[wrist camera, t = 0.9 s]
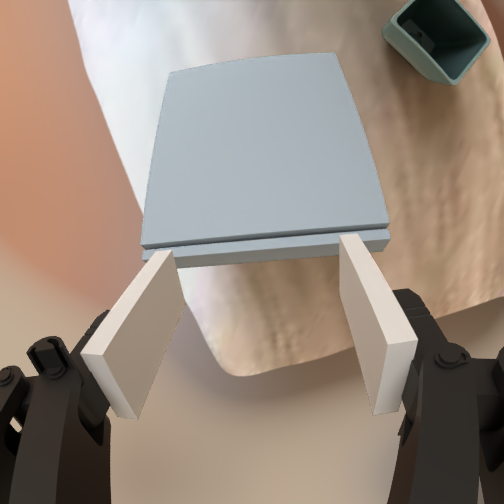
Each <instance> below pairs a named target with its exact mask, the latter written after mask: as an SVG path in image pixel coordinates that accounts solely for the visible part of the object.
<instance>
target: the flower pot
mask: <svg viewBox="0 0 504 504" xmlns="http://www.w3.org/2000/svg"><path fill="white" fill-rule="evenodd" d="M418 33H420V34H421V37H419V36H418ZM382 36H383V38H384V39H385V40H386V41H387V42H388V43H389V44H390V45H391V46H392V47H393V48H394V49H396V50H397V51H398V52H399V53H400V54H401V55H402V56H403V57H404V58H405V59H406V60H407V61H408V62H409V63H410V64H411V65H412V66H413V67H414V68H415V69H416V70H417V71H418V72H419V73H420V74H421V75H422V76H423V77H425V78H426V79H428V80H430V81H432V82H436V83H441V84H447V85H453V86H456V85H457V84H458V83H459V82H460V80H461V79H462V78H463V77H464V75H465V74H466V73H467V72H468V70H469V69H470V68H471V67H472V65H473V64H474V63H475V61H476V60H477V59H478V58H479V56H480V55H481V54H482V53H483V51H484V50H485V49H486V48H487V46H488V45H489V44H490V41H491V39H490V37H489V36H488V34H487V33H486V32H485V30H484V29H483V28H482V27H481V26H480V25H479V23H478V22H477V21H476V20H475V19H474V18H473V17H472V16H471V15H470V13H469V12H468V11H467V10H466V9H465V8H464V7H463V6H462V5H461V4H460V3H459V1H457V0H409V1H408V2H407V3H406V4H405V5H404V6H403V7H402V8H401V9H400V10H399V11H398V12H397V13H396V14H395V15H394V16H393V17H392V18H391V19H390V20H389V22H388V23H387V24H386V25H385V26H384V28H383V29H382Z"/></svg>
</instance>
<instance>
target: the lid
mask: <svg viewBox="0 0 504 504" xmlns="http://www.w3.org/2000/svg"><path fill="white" fill-rule="evenodd" d="M389 223H390V222H389V217H388V213H387V209H386V205H385V201H384V197H383V193H382V189H381V185H380V182H379V178H378V174H377V171H376V167H375V164H374V160H373V157H372V154H371V150H370V147H369V144H368V141H367V137H366V134H365V131H364V128H363V125H362V122H361V119H360V116H359V114H358V111H357V108H356V105H355V102H354V100H353V97H352V94H351V92H350V89H349V86H348V84H347V81H346V79H345V76H344V74H343V71H342V69H341V66H340V64H339V61H338V59H337V57H336V54H335V53H305V54H289V55H277V56H266V57H257V58H249V59H242V60H235V61H228V62H222V63H216V64H210V65H205V66H199V67H194V68H190V69H185V70H180V71H176V72H171V73H169V77H168V81H167V86H166V90H165V94H164V99H163V103H162V108H161V113H160V117H159V122H158V127H157V133H156V138H155V143H154V149H153V155H152V160H151V167H150V173H149V179H148V186H147V193H146V201H145V208H144V216H143V225H142V234H141V244H140V245H141V246H142V247H143V248H145V249H146V250H143V256H142V260H143V261H144V262H146V263H147V262H148V261H149V259H150V258H151V257H152V255H153V254H154V253H155V252H156V251H165V250H172V252H173V256H174V260H175V264H176V268H190V267H203V266H216V265H228V264H241V263H253V262H265V261H278V260H289V259H301V258H313V257H325V256H336V255H339V235H345V234H358V235H359V237H360V238H361V240H362V242H363V243H364V245H365V246H366V248H367V250H368V251H369V253H370V252H381V251H383V250H384V248H385V247H386V245H387V244H388V242H389V241H390V239H391V238H390V233H389V229H386V228H387V227H388V225H389ZM375 229H381V230H375ZM362 230H368V231H362ZM350 231H356V232H350ZM338 232H343V233H338ZM325 233H331V234H325ZM313 234H319V235H313ZM302 235H307V236H302ZM290 236H295V237H290ZM278 237H284V238H278ZM267 238H272V239H267ZM256 239H261V240H256ZM244 240H249V241H244ZM233 241H238V242H233ZM222 242H227V243H222ZM212 243H216V244H212ZM201 244H206V245H201ZM190 245H195V246H190ZM180 246H184V247H180ZM169 247H174V248H169ZM159 248H164V249H159ZM149 249H153V250H149Z"/></svg>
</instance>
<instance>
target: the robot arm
mask: <svg viewBox="0 0 504 504" xmlns="http://www.w3.org/2000/svg"><path fill="white" fill-rule="evenodd" d="M339 263H340V279H339V294H340V297H341V301H342V304H343V307H344V311H345V314H346V317H347V321H348V324H349V327H350V331H351V334H352V338H353V341H354V345H355V349H356V352H357V356H358V359H359V363H360V367H361V371H362V374H363V378H364V382H365V386H366V390H367V394H368V398H369V402H370V406H371V410H372V415H373V416H376V415H382V414H387V413H392V412H398V410H399V407H400V404H401V401H403V404H404V407H405V410H406V414H405V417H404V419H403V422H402V425H401V427H400V430H399V432H398V435H400V436H401V437H400V444H399V450H398V456H397V461H396V466H395V471H394V476H393V481H392V485H391V490H390V494H389V498H388V502H387V504H477V501H478V487H479V477H480V482H481V487H482V492H483V497H484V503H485V504H504V347H503V348H502V349H501V350H500V351H499V354H498V356H497V358H496V359H476V358H471V357H470V354H469V353H468V352H467V351H466V350H465V349H464V348H463V347H461V346H459V345H457V344H454V343H450V342H448V341H447V339H446V338H445V336H444V334H443V333H442V331H441V329H440V328H439V326H438V324H437V323H436V321H435V320H434V318H433V316H432V315H430V312H429V310H428V309H427V307H425V304H424V303H423V301H422V299H421V298H420V296H419V295H417V294H416V293H414V292H413V291H411V290H410V289H400V290H391V288H390V287H389V285H388V283H387V282H386V280H385V278H384V276H383V275H382V273H381V271H380V270H379V268H378V266H377V265H376V263H375V261H374V260H373V258H372V256H371V255H370V253H369V251H368V250H367V248H366V246H365V245H364V243H363V242H362V240H361V238H360V237H359V235H358V234H345V235H339ZM185 305H186V303H185V299H184V296H183V292H182V288H181V284H180V280H179V276H178V272H177V268H176V264H175V260H174V256H173V252H172V250H165V251H156V252H155V253H154V254H153V255H152V257H151V258H150V259H149V261H148V262H147V263H146V265H145V266H144V267H143V268H142V269H141V271H140V272H139V273H138V275H137V276H136V277H135V279H134V280H133V281H132V283H131V284H130V285H129V286H128V288H127V289H126V290H125V292H124V293H123V294H122V296H121V297H120V298H119V300H118V301H117V302H116V304H115V305H114V306H113V308H112V309H111V310H106V311H105V312H103V313H102V314H101V315H100V316H98V317H97V318H96V319H95V320H94V322H93V323H92V325H91V326H90V328H89V329H88V330H87V331H86V333H85V336H83V337H82V338H81V340H80V341H79V342H78V344H77V345H76V346H75V348H74V349H73V351H72V352H71V353H70V354H69V352H68V350H67V349H66V346H65V344H64V342H63V341H62V339H61V338H59V337H57V336H49V337H46V338H42V339H41V340H39V341H37V342H35V343H34V344H33V345H32V346H31V347H30V348H29V349H28V351H27V355H28V357H29V359H30V360H31V362H32V363H33V365H34V367H35V369H36V370H37V372H38V373H39V376H32V377H25V375H24V374H23V372H22V371H21V369H20V368H19V367H17V366H8V367H6V368H3V369H2V370H1V371H0V504H111V487H110V433H111V424H110V420H109V418H108V417H107V415H106V413H107V411H108V409H109V407H110V406H111V407H112V409H113V411H114V412H115V414H116V415H117V417H122V418H129V419H136V420H138V419H139V416H140V414H141V411H142V409H143V406H144V404H145V401H146V399H147V396H148V393H149V391H150V389H151V386H152V384H153V381H154V379H155V376H156V374H157V371H158V369H159V367H160V364H161V362H162V359H163V357H164V354H165V352H166V350H167V347H168V345H169V342H170V340H171V338H172V336H173V333H174V331H175V328H176V326H177V324H178V322H179V319H180V317H181V314H182V312H183V310H184V308H185ZM13 417H14V418H15V420H16V421H17V422H18V423H19V425H20V426H21V427H22V430H21V431H20V432H17V431H16V430H15V429H14V428H13V427H12V426H11V424H10V421H11V420H12V418H13Z"/></svg>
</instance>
